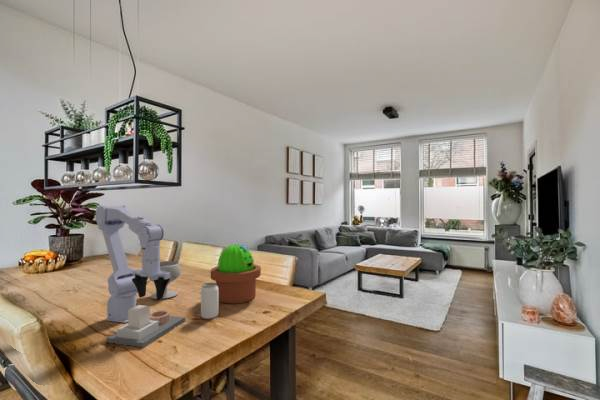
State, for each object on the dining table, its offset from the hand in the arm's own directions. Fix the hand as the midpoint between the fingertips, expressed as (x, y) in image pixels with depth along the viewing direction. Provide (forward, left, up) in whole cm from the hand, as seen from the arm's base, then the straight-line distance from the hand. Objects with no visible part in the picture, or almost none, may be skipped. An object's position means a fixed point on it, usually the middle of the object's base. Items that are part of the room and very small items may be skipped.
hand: (151, 297), depth 103 cm
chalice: (-19, +30, -11) cm, 37 cm away
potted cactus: (+15, +36, -11) cm, 40 cm away
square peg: (+2, -7, -9) cm, 12 cm away
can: (+15, +14, -11) cm, 23 cm away
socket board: (+2, -3, -10) cm, 11 cm away
